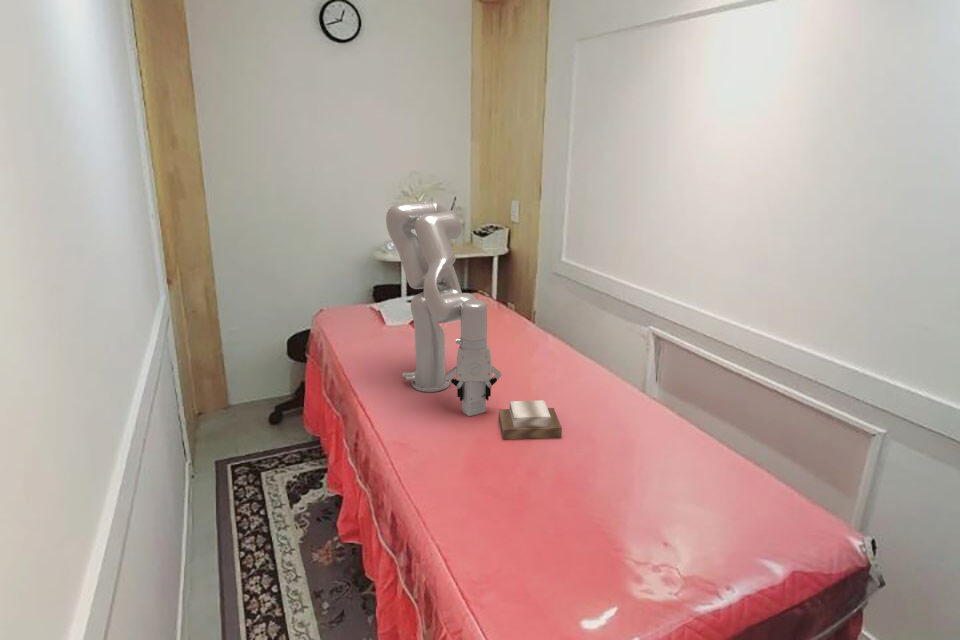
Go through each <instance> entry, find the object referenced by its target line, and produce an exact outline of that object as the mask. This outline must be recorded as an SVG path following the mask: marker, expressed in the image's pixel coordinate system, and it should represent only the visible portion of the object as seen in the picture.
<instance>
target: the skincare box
mask: <svg viewBox="0 0 960 640" xmlns="http://www.w3.org/2000/svg"><path fill="white" fill-rule="evenodd" d="M486 403H487V400H486V383H485V382H471V379H469V382H463V384H462V401H461V411H462V412H463V413H464V414H465V415H466V416H468V417H472V416H476V415H480V414H483V413H486V410H487V407H486Z"/></svg>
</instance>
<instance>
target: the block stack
mask: <svg viewBox="0 0 960 640" xmlns="http://www.w3.org/2000/svg"><path fill="white" fill-rule="evenodd" d="M498 420H499V426H500V431H501V435H502V439H503V440H531V439H562V434H563V433H562V432H563V431H562V430H563V428H562V427H563V426H562V425H561V423H560V420H559V418H558V415H557V413H556V411H555V408H554V407H548V406H547V403H546V402H545V400H543V399H542V400H541V399H540V400H512V401H511V400H510V401H509V408H504V409H503V408H501V409H498Z"/></svg>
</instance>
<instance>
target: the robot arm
mask: <svg viewBox="0 0 960 640" xmlns="http://www.w3.org/2000/svg"><path fill="white" fill-rule="evenodd" d="M385 219H386V220H385V221H386V229H387V232H388V235H389V238H390V239H391V241H392V243H393V245H394V246H395V248H396V250H397V252H398V255H399V259H400V262H401V266H402V269H403V272H404V274H405V278H406V281H407V283H408V285H409V287H410V288H411V289H413V290H423V291H422V292H420V293H419V292H418V294H415V296H413V297H412V299H411V301H410V311H411V315H412V320H413V326H414V327H413V328H414V343H415V345H414V347H415V348H414V349H415V350H414V351H415V370H414V371H412V372H402V379H405V381H406V382H407V381H411V386H412V388H414V389H415V390H417V391H419V392H423V393H435V392H440V391H444V390H446V389H447V388H449V386H450V385H451V384H452V385H454V386H455V388H457V393H456V395H457V396H456V397H457V398H459V402H462V384H463V382H469V379H471V382H485V383H486V401H489V397H491V395H492V394H491V392H492V387H493V386H494V385H495V383H497V382H498V380H499V379H500V378H501V377H502V376H503V375H502V372H501V371H500V370H498V369H497V368H496V367H494V366H493V365H492V353H491V348H490V346H489V345H488V304H487V303H486V302H485V301H484V300H481V299H477V298H476V297H475V295H473V294H471V293H469V292H462V289H461V284H460V282H459V278H458V275H457V273H456V270H455V267H454V264H455V262H456V255H455V252H454V250H453V248H452V245H451V242H450V240H455V239H457V238H459V237H460V236H461V233H462V229H463V227H462V223H461V220H460V218H459V217H458V215H457V214H456V213H455V211H452V210H451V209H450V208H448V207H446V206H445V205H443V204H441V203H440V202H438V201H434V200H424V201H422V200H421V201H408V202H401V203H397V204H394V205H392V206H390V207H389V208H388V210H387V212H386V216H385ZM412 230H415V233H414V232H413V231H412ZM457 321H460V337H459V338H456V339H455V344H456V345H457V344H458V345H459V346H458V350H457V357H456V366H454V367H453V368H452V369H450V370H449V371H448V372H447V373H446V340H445V339H446V337H445V331H444V329H443V327H442V326H441V325H440V324H447V323H452V322H457ZM455 374H456V378H455V377H454V375H455ZM493 374H494V375H493Z"/></svg>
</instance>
